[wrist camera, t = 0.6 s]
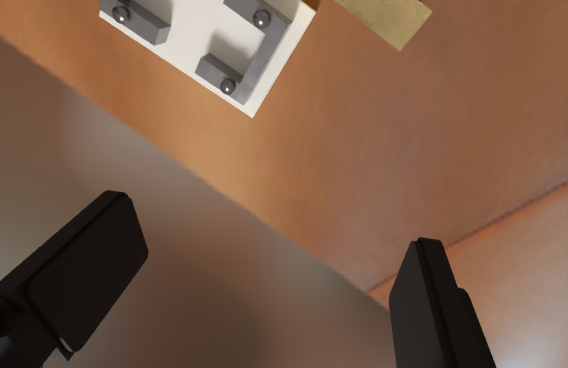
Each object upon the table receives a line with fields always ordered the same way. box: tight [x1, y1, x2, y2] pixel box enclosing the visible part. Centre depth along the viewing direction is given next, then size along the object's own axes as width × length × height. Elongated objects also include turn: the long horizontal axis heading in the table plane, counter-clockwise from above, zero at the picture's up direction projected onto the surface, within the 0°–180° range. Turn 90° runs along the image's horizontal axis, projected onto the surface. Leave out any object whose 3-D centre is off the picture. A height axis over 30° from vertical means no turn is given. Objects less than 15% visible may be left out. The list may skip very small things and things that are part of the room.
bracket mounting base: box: [99, 0, 293, 106], centre depth 31 cm, size 10×18×3 cm, turn 58°
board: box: [99, 0, 317, 118], centre depth 33 cm, size 14×21×1 cm, turn 58°
